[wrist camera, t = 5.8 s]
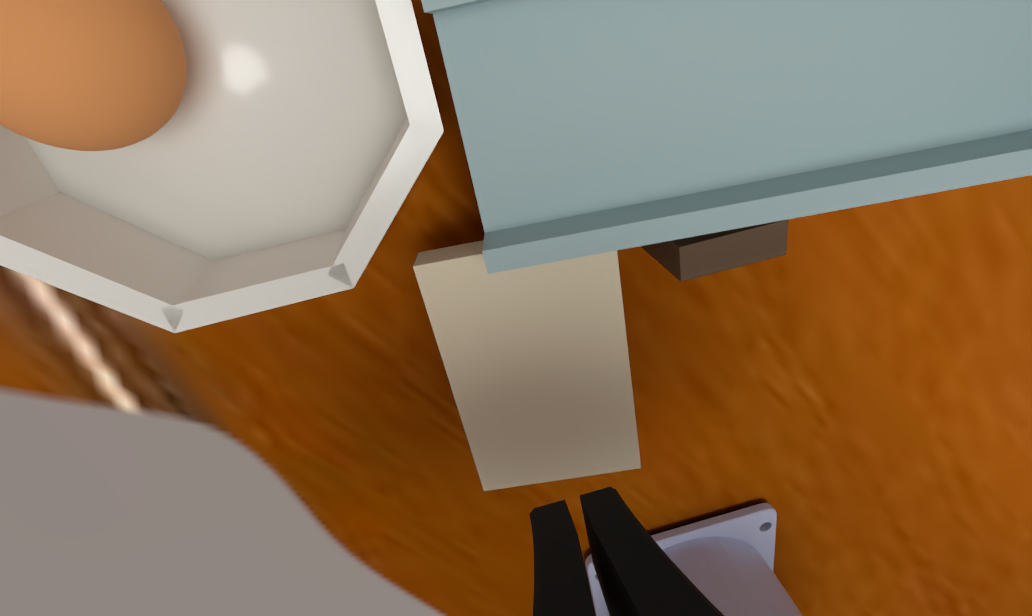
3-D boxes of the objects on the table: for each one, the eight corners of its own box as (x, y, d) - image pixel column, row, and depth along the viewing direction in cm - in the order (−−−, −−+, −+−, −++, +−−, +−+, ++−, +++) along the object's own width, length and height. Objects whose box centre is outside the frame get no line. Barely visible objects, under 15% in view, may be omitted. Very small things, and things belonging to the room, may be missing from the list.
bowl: (463, 217, 14) (475, 257, 11) (116, 303, 13) (43, 366, 11) (345, -250, 10) (320, -360, 7) (-175, -154, 9) (-414, -235, 6)
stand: (752, 201, 15) (860, 251, 12) (555, 251, 15) (602, 318, 11) (760, -169, 11) (927, -272, 8) (493, -114, 11) (533, -196, 7)
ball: (-204, 48, 7) (56, 194, 8) (-104, -190, 7) (161, -7, 8) (1, 85, 11) (170, 185, 12) (78, -73, 10) (248, 45, 11)
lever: (1017, 390, 14) (1143, 481, 11) (485, 469, 15) (479, 569, 13) (1208, -198, 8) (1556, -308, 6) (342, 4, 10) (274, -4, 7)
